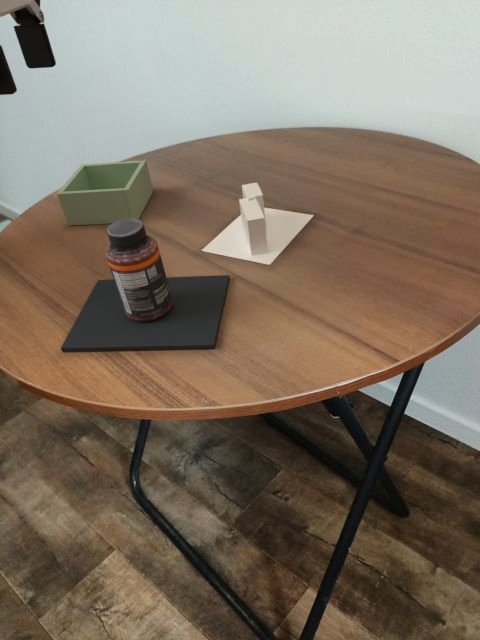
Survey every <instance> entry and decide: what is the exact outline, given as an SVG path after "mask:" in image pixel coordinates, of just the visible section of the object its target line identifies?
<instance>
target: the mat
mask: <svg viewBox="0 0 480 640" xmlns="http://www.w3.org/2000/svg"><path fill="white" fill-rule="evenodd" d="M166 277H167V281H168V285H169V289H170V292H171V297H172V301H173V303H172V307H171V309H170V310H169V311H168V312H167V313H166V314H165V315H164V316H162V317H160V318H158V319H156V320H153V321H146V322H139V321H135V320H133V319H131V318H129V317H128V316H127V314H126V312H125V310H124V308H123V305H122V302H121V299H120V296H119V293H118V290H117V287H116V284H115V282H114V279H97V281H96V282H95V285H94V287H93V288H92V290H91V291H90V293H89V296H88V297H87V299H86V301H85V302H84V305H83V307H82V308H81V310H80V312H79V313H78V315H77V318H76V320H75V321H74V323H73V325H72V326H71V329H70V331H69V332H68V334H67V336H66V337H65V339H64V341H63V343H62V345H61V347H60V350H61V352H62V353H66V352H67V353H74V352H113V351H114V352H116V351H119V352H121V351H122V352H123V351H125V352H126V351H167V350H168V351H169V350H170V351H171V350H172V351H173V350H214V349H215V348H216V343H217V338H218V335H219V329H220V325H221V321H222V315H223V312H224V306H225V303H226V297H227V293H228V287H229V283H230V279H231V278H230V275H229V274H224V275H222V274H221V275H197V276H196V275H194V276H193V275H192V276H166Z"/></svg>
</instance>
